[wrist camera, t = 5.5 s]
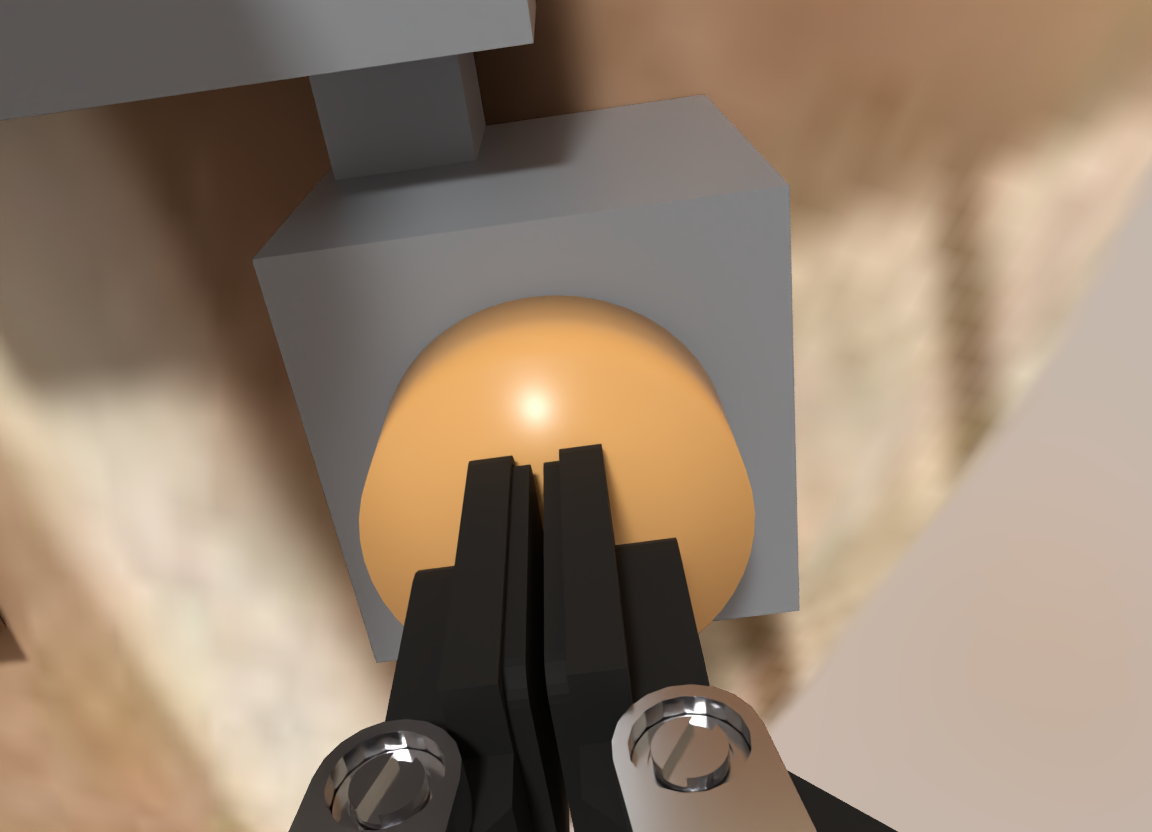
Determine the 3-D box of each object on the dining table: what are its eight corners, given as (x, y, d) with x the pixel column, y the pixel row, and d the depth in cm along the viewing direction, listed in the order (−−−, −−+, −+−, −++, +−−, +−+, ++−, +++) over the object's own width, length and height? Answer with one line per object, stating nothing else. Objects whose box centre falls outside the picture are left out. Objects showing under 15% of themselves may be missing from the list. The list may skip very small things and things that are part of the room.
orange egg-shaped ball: (678, 193, 16) (745, 330, 11) (698, 445, 18) (762, 661, 13) (388, 233, 16) (313, 388, 11) (445, 478, 18) (406, 703, 13)
